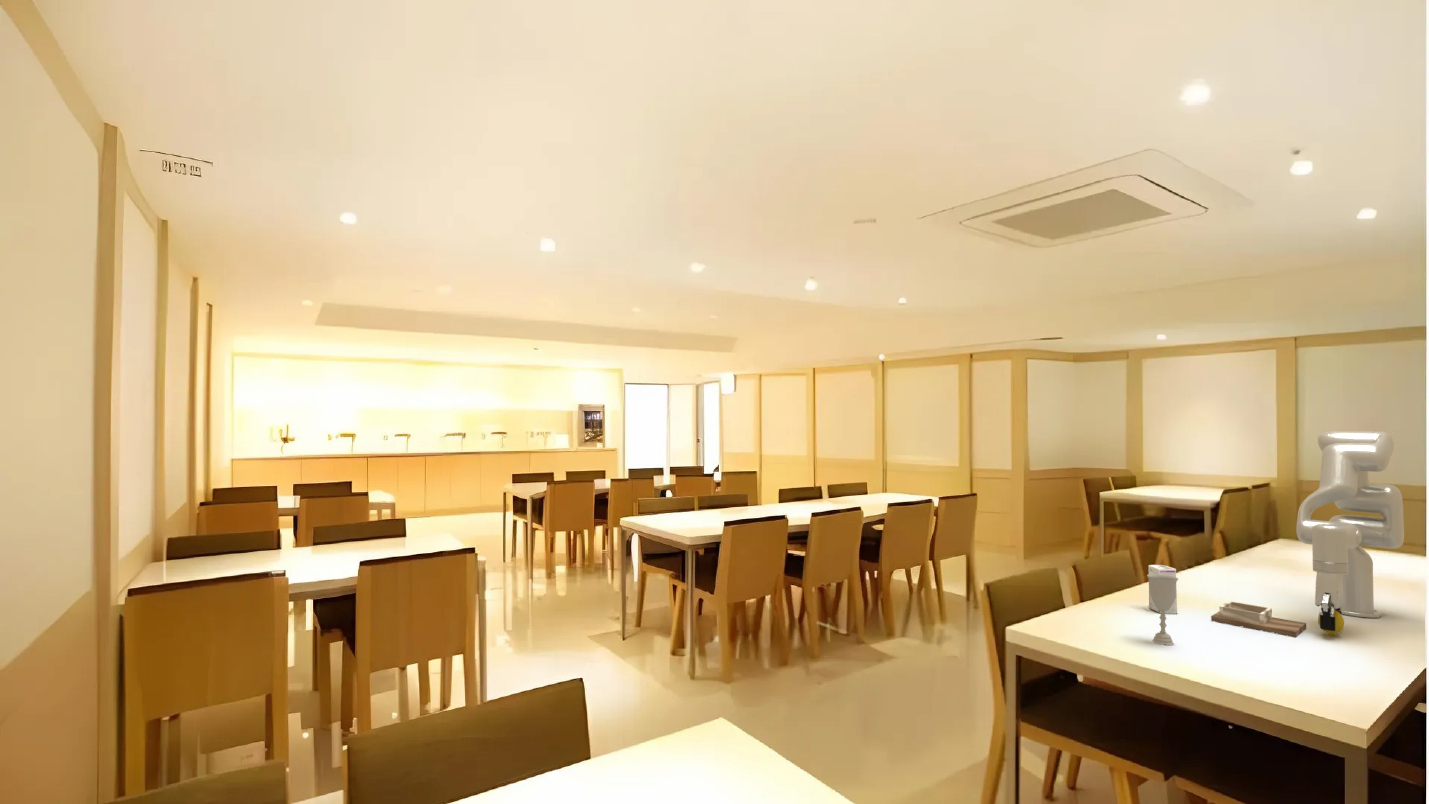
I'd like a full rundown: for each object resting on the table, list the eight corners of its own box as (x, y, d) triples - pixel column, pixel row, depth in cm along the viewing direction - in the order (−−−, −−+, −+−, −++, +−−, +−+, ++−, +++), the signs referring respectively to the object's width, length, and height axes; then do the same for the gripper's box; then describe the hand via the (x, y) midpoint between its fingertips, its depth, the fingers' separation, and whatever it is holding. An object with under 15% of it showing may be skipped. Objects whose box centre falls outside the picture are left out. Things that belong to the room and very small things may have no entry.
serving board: (1224, 613, 216) (1224, 599, 216) (1306, 628, 200) (1305, 613, 200) (1211, 620, 207) (1211, 606, 207) (1295, 637, 191) (1295, 621, 192)
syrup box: (1178, 614, 214) (1177, 568, 215) (1159, 613, 214) (1158, 568, 215) (1166, 609, 220) (1165, 564, 220) (1148, 609, 220) (1147, 564, 220)
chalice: (1151, 644, 184) (1150, 578, 184) (1144, 637, 190) (1144, 573, 191) (1182, 647, 181) (1181, 580, 182) (1175, 640, 188) (1174, 575, 188)
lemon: (1349, 639, 190) (1348, 610, 191) (1326, 637, 191) (1326, 609, 192) (1335, 633, 196) (1335, 605, 196) (1313, 631, 197) (1313, 604, 197)
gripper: (1318, 561, 203) (1319, 618, 202) (1306, 568, 192) (1307, 629, 191) (1352, 566, 197) (1353, 624, 196) (1342, 573, 186) (1343, 635, 185)
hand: (1331, 626), depth 194 cm, fingers open, 9 cm apart
